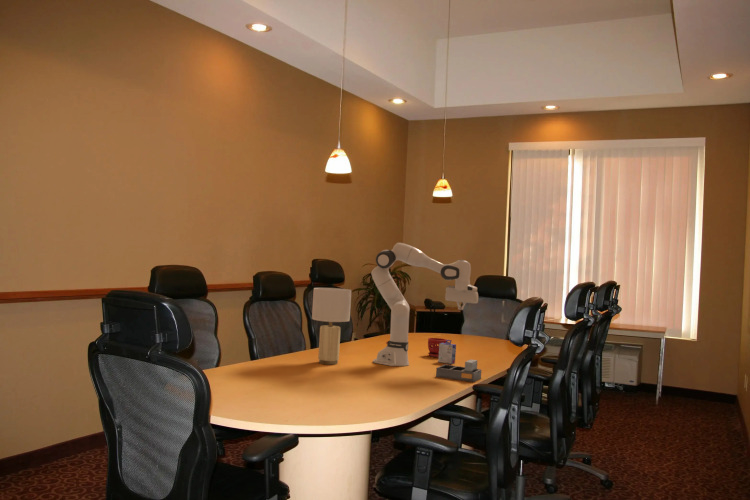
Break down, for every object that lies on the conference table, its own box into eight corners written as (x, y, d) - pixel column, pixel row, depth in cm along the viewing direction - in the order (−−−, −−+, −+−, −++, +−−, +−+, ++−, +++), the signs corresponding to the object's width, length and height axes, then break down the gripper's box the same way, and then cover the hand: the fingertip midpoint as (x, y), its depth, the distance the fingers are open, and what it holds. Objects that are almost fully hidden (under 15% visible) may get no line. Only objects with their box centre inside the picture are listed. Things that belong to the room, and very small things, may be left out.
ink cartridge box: (455, 363, 400) (456, 340, 401) (451, 364, 396) (453, 341, 396) (441, 361, 406) (443, 338, 406) (437, 362, 401) (439, 339, 401)
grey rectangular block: (464, 377, 348) (465, 361, 348) (469, 375, 357) (470, 359, 357) (471, 379, 346) (472, 362, 346) (476, 376, 355) (477, 360, 355)
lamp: (347, 360, 387) (351, 289, 387) (346, 367, 364) (351, 291, 364) (310, 358, 386) (314, 287, 387) (307, 365, 364) (312, 289, 364)
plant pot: (447, 358, 418) (448, 340, 418) (427, 357, 418) (428, 339, 418) (445, 355, 431) (446, 337, 431) (426, 354, 431) (427, 336, 431)
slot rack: (435, 376, 353) (436, 367, 353) (444, 372, 366) (445, 364, 366) (473, 382, 343) (473, 373, 343) (480, 378, 356) (481, 369, 356)
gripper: (444, 285, 380) (442, 308, 380) (476, 288, 371) (475, 311, 370) (448, 285, 385) (446, 307, 385) (480, 288, 376) (478, 311, 376)
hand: (460, 309), depth 378 cm, fingers closed
